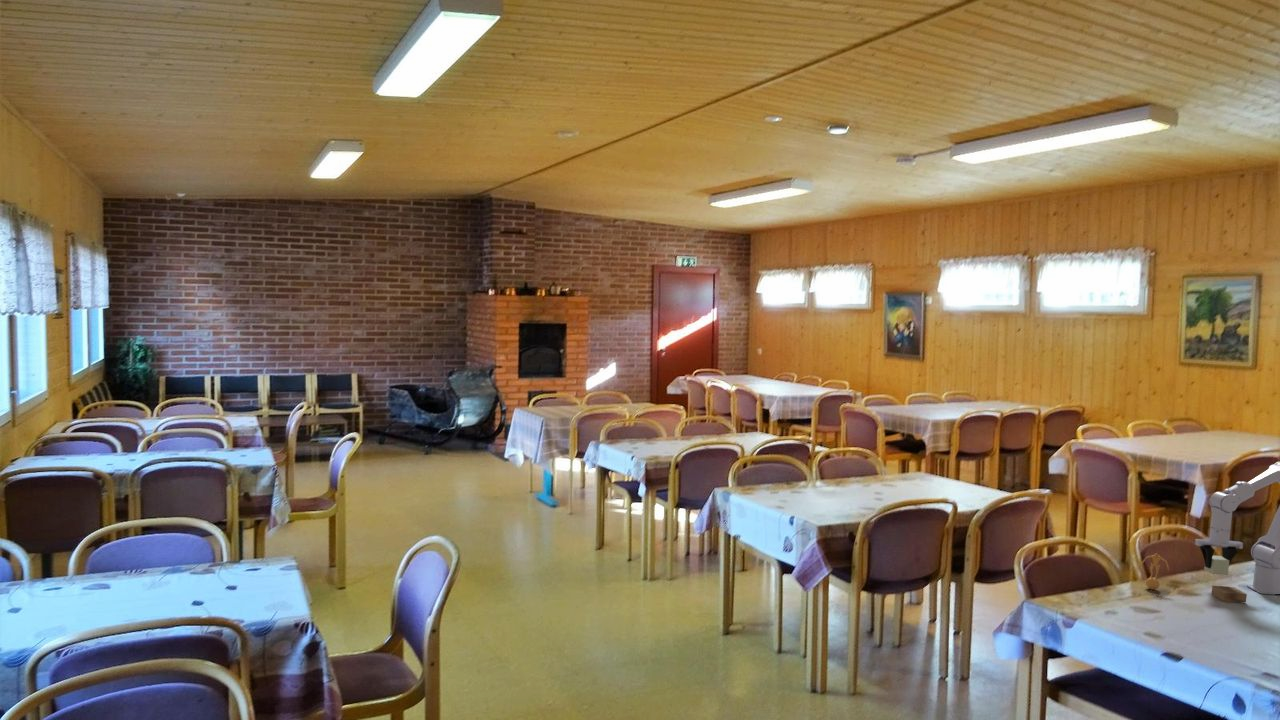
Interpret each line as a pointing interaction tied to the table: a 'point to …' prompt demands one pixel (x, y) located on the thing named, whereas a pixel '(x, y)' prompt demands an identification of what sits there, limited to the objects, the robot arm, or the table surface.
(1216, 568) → the sage cube
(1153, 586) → the figurine
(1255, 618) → the table surface
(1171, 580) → the table surface
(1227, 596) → the walnut block
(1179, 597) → the table surface
